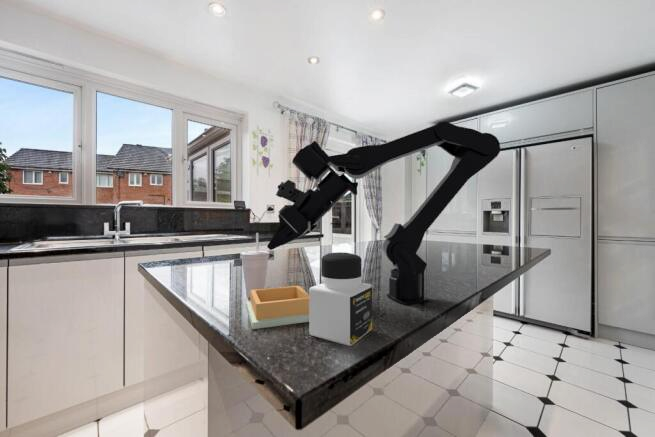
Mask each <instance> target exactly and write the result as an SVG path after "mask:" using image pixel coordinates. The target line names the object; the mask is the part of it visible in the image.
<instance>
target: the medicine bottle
mask: <svg viewBox="0 0 655 437" xmlns="http://www.w3.org/2000/svg"><path fill="white" fill-rule="evenodd" d="M321 281H322V282H321V283H319V284H316V285H314V286H311V287H309V293H308V294H309V322H308V324H309V327H308V328H309V329H308V330H309V335H310V336H312V337H316V338H319V339H323V340H326V341H330V342H334V343H337V344H341V345H343V346H347V347H351V346H353V345H355V343H357V342H358V341H359V340H361V338H363V337H364V336H365V335H367V334H368V333H369V332H370V331H372V329H373V285H372V284H371V283H364V282H362V258H361V256H360V255H359V254H357V253H353V252H340V251H339V252H329V253H327V254H325V255H323V256H322V257H321Z"/></svg>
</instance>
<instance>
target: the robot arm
mask: <svg viewBox="0 0 655 437" xmlns="http://www.w3.org/2000/svg"><path fill="white" fill-rule="evenodd" d="M435 146H436V147H438V148H441V149H442V150H443V151H444V152H446V153H447V154H449V155H450V156H452V157H453V160H452V162H451V165H450V167H449V170H448V172H447V173H446V174H445V176H443V178H442V179H441V180H440V182H439V183H438V184H437V185H436V187H434V189H433V190H432V191H431V193H430V194H429V195H428V196H427V197H426V198H425V199H424V201H423V203H422V204H421V205H420V206H419V207H418V208H417V210H416V211H415V212H414V213H413V214H412V216H411V217H410V218H409V220H408V221H407V222H405V223H404V224H403V225H402V224H401V223H396V222H395V223H394V225H393V227H392V228H391V230H390V231H389V232H388V234H386V235H384V236H383V238H384V239H385V240H384V241H383V244H382V250H383V253H384V256H385V257H386V258H387V259H388V260H389V261H390V262H391V263H392V266H393V267H394V268H393V269H390V276H389V277H388V278H389V279H388V283H389V284H388V288H389V289H388V290H389V291H388V292H389V293H386V297H387V298H390V299H392V300H394V301H396V302H399V303H400V304H403V305H409V304H415V303H425V302H430V298H429V297H427V296H425V271H426V269H427V268H426V267H427V264H428V263H427V262H425V260H424V259H422V258H421V257H420V255H418V254H417V252H418V250H419V249H420V247H421V244H422V242H423V239H424V237H425V234H426V232H427V231H428V229H429V228H430V227H431V226H432V225H433V223H434V222H435V221H436V220H437V219H438V217H440V215H441V214H442V213H443V211H444V210H445V209H446V207H448V205H449V204H450V203H451V202H452V200H453V199H454V198H455V196H456V195H457V194H458V193H459V192H460V191H461V189H462V188H463V187H464V186H465V184H466V183H467V182H468V181H469V180H470V179H471V178H472V177H473V176H475V175H476V174H477V173H479V172H480V171H481V170H483V169H484V168H486V167H487V166H488V165H489V164H491V162H492V161H493V160H494V159H496V158H497V157H498V156H499V154H500V152H501V149H502V148H501V143H500V141H499V139H498V138H497V136H495V134H492V133H489V132H481V131H478V130H476V129H474V128H469V127H466V126H465V127H463V126H459V125H455V124H453V123H451V122H448V121H439V122H437V123H436V124H435V125H432V126H429V127H425V128H424V129H421V130H418V131H416V132H413V133H410V134H407V135H404V136H401V137H399V138H396V139H394V140H391V141H388V142H385V143H382V144H370V145H369V144H368V145H362V146H357V147H353V148H351V149H349V150H347V152H346V153H341V154H334V155H328V153H327V152H326V151H325V150H324V149H322V147H321V146H320V145H319V143H318V142H317V141H316V140H313V141H312V142H311V144H307V145H306V146H304V147H303V148H300V149H299V151H297V153H296V154H295V155H294V157H293V158H292V160H291V163H292V164H293V165H294V166H295V167H296V168H297V169H298V170H299V171H300V172H301V173H302V174H303V176H305V177H306V178H307V179H308V180H309V181H310V182H311V181H314V180H315V181H317V182H319V181H320V180H321V179H322V180H321V181H320V182H319V183H318V184H316V185H315V186H314V187H313V189H312V188H309V189H307V190H306V191H305V192H304V191H302V190H300V189H298V188H297V184H296V182H294V181H292V180H290V179H287V180H286V181H285V182H283V181H281V182H280V184H278V185H277V191H276V194H275V196H277V197H278V198H283V199H285V200H286V201H287V200H288V201H289V202H292V204H284V206H283V207H281V209H280V210H278V215H277V216H278V217H277V218H278V223H279V225H278V227H277V229H276V231H275V233H274V234H273V236H272V238H271V239H270V241H269V243H268V244H267V248H268V250H269V251H272V250H274V249H276V248H279V247H281V246H284V245H286V244H288V243H291V242H292V241H296V240H297V239H299V238H301V237H304V236H305V235H308V234H310V233H312V232H313V231H315V230H316V229H317V228H318V227H319V222H320V220H321V219H322V218H323V217H324V216H325V215H326V214H327V213H329V212H330V211H331V210H332V208H333V207H334V206H335V205H337V203H338V202H339V201H340V200H341V199H342V198H344V196H345V195H346V194H347V193H349V192H350V193H351V194H352V195H353V196H354V197H356V196H357V195H358V187H359V182H358V181H357V182H352V180H351V179H354V180H359V179H362V178H364V177H366V176H368V175H369V174H371V173H373V172H375V171H377V169H380V168H382V167H383V166H385V165H387V164H388V163H392V162H393V161H397V160H399V159H402V158H405V157H408V156H410V155H412V154H416V153H419V152H421V151H425V150H427V149H429V148H432V147H435ZM328 172H329V173H328ZM337 172H338V173H342V174H340V175H339V174H338V173H337ZM327 173H328V174H327ZM346 175H347V176H348V177H347V176H346ZM323 177H324V178H323ZM349 178H351V179H349Z"/></svg>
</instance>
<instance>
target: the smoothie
mask: <svg viewBox="0 0 655 437" xmlns="http://www.w3.org/2000/svg"><path fill="white" fill-rule="evenodd" d="M259 235H260V234H259V232H256V233H255V250H250V251H249V250H247V251H242V252H240V253H239V254H240V256H239V258H240V259H241V264H242V271H243V279H244V288H245V295H246V296H245V297H246V298H247V299H250V290H255V289H266V288H265V287H266V279H267V273H268V272H267V270H268V263H269V257H270V251H266V250H260V249H259V248H260V247H259V245H260V244H259V242H260V241H259V238H260V237H259Z"/></svg>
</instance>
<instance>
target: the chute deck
mask: <svg viewBox="0 0 655 437" xmlns="http://www.w3.org/2000/svg"><path fill="white" fill-rule="evenodd" d="M245 308H246V311H247V312H246V313H247V314H248V318H249V323H250V326H251V329H252V330H257V329H264V328H272V327H279V326H280V327H281V326H287V325H293V324H302V323H309V293H308V292H307V291H305V289H303V288H302V287H301V285H291V286H290V285H289V286H280V287H278V286H277V287H269V288H267V287H266V288H265V289H255V290H250V298H249V300H247V301H245Z"/></svg>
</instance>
